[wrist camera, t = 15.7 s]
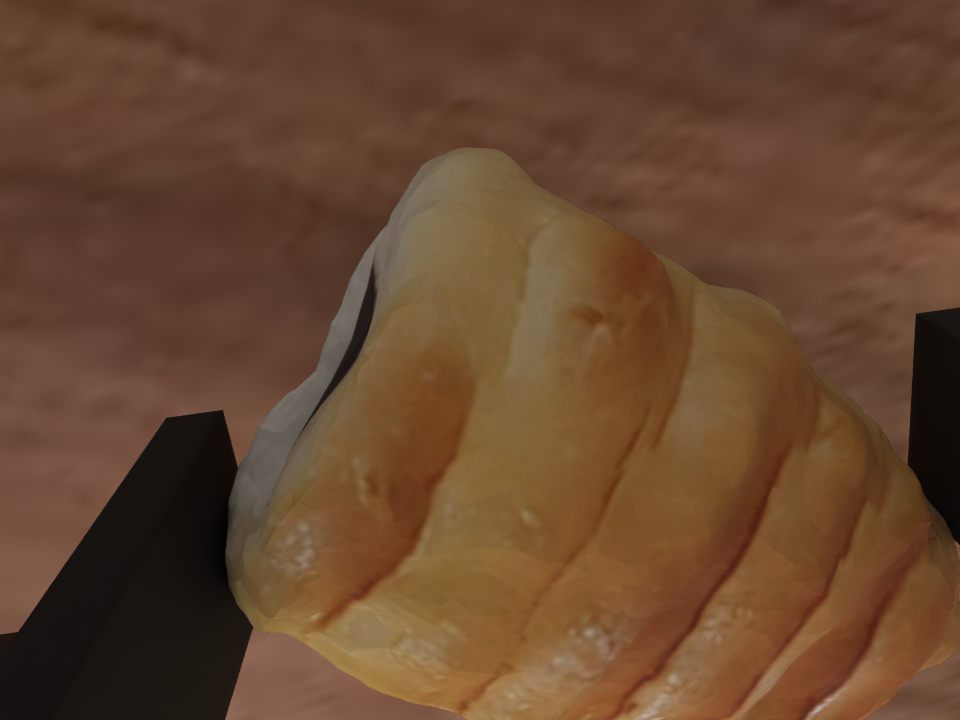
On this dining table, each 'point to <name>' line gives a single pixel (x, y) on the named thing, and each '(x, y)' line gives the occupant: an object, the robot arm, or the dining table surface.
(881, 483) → the pastry
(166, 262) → the dining table surface
